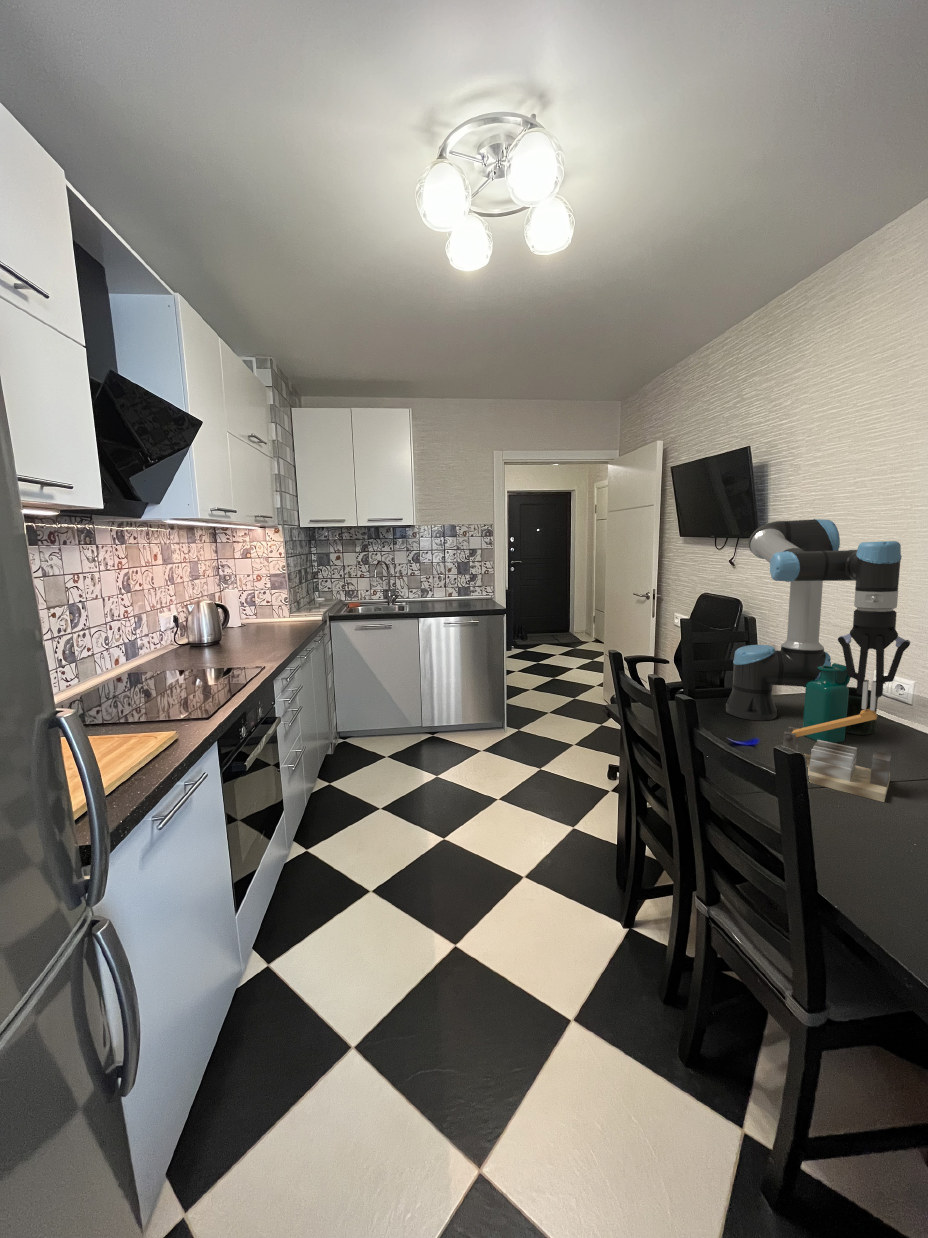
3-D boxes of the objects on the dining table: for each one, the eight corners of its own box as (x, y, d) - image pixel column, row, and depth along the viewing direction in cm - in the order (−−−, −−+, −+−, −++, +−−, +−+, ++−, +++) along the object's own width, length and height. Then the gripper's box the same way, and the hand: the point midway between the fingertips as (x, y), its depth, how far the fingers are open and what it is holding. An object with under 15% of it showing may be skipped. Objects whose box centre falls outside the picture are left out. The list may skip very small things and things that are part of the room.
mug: (838, 734, 147) (841, 696, 145) (822, 717, 160) (825, 682, 159) (883, 738, 143) (886, 699, 141) (863, 721, 157) (866, 685, 155)
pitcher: (824, 745, 140) (830, 671, 137) (798, 734, 148) (803, 664, 145) (852, 741, 142) (858, 668, 138) (825, 730, 150) (830, 661, 147)
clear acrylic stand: (776, 773, 124) (778, 736, 123) (788, 757, 133) (791, 722, 132) (884, 802, 110) (888, 760, 108) (889, 781, 119) (893, 742, 117)
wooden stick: (793, 737, 125) (789, 730, 125) (796, 734, 127) (792, 727, 127) (876, 719, 112) (871, 711, 113) (877, 715, 115) (873, 707, 115)
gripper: (834, 609, 114) (829, 706, 117) (915, 612, 104) (907, 718, 107) (839, 606, 119) (834, 699, 122) (916, 608, 109) (909, 710, 112)
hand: (868, 708), depth 114 cm, fingers closed
